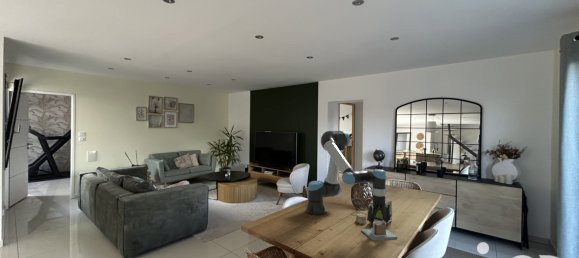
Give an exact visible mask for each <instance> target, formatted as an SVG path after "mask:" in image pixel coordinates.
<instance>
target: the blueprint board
mask: <svg viewBox="0 0 579 258" xmlns="http://www.w3.org/2000/svg"><path fill="white" fill-rule="evenodd" d="M360 231H361V232H362V234H364V235H365V236H366V237H367V238H369V239H370V240H371V241H384V240H397V239H398V236H397V235H396V234H394V233H392V232H391V231H390V230H389V229H387V228H386V235H376V234H375V233H372V232H371V227H370V228H361V229H360Z"/></svg>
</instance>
